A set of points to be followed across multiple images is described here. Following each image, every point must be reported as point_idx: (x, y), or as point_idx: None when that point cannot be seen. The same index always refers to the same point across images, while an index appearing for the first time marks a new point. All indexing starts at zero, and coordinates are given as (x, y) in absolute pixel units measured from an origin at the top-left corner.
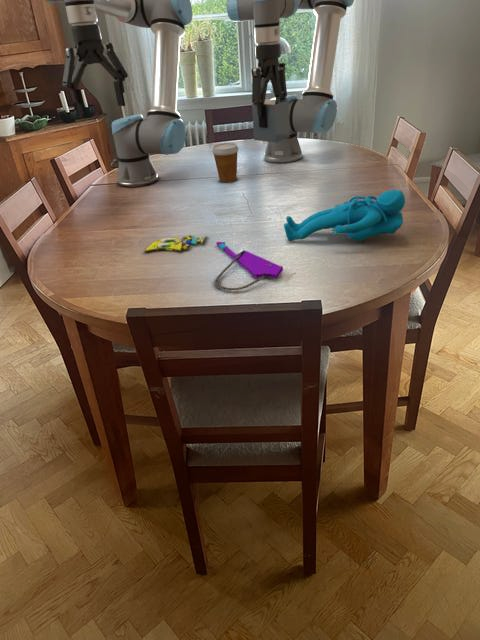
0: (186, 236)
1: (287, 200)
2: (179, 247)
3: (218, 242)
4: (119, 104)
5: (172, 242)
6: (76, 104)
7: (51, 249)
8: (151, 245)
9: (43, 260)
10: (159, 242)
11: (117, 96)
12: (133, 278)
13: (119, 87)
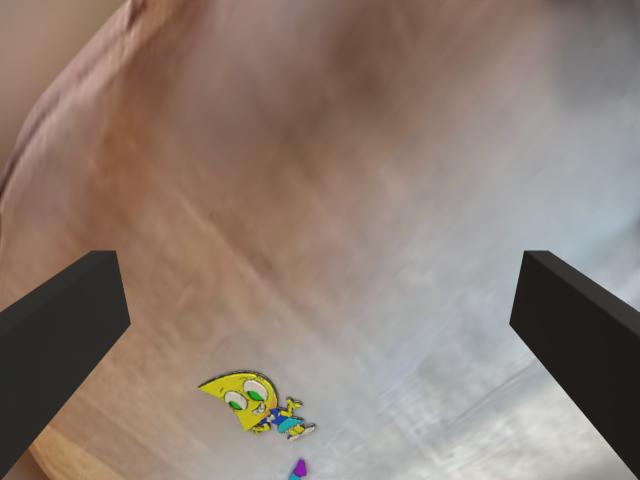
0: (292, 403)
1: (559, 429)
2: (249, 426)
3: (300, 468)
4: (524, 280)
5: (255, 403)
6: (33, 292)
7: (59, 207)
8: (221, 383)
9: (26, 247)
10: (239, 385)
11: (570, 310)
12: (133, 434)
13: (620, 449)
